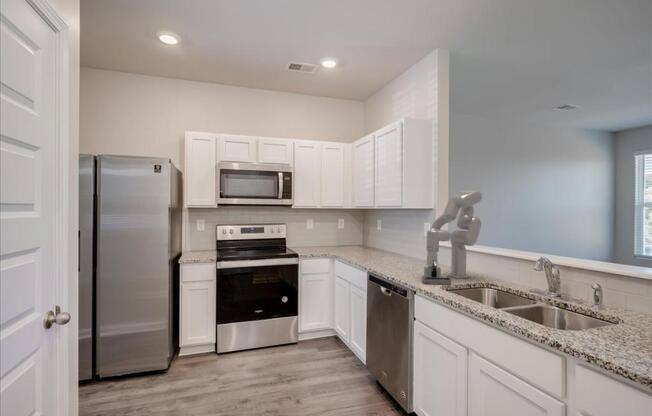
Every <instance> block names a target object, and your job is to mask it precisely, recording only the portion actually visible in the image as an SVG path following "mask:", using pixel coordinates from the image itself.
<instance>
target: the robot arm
mask: <svg viewBox="0 0 652 416" xmlns="http://www.w3.org/2000/svg"><path fill="white" fill-rule="evenodd" d="M482 199H483V193H482V191H480V190H477V189H476V190H469V189H468V190H460V191H458V193H457V194H456V195H455V194H454V195H452V196H450V197H449V198H448V200H447V203H446V206H445V209H444V210H443V212H442V214H441V215H440V216H439V217H437V219H436V220H435V221H434V222H433V223H432V225H431V228H430V229H429V230H427V231H426V252H427V253H426V265H427V267H432V271H431V277H437V268H436V267H438V252H440V249H439V247H440V242H448V241H449V240H450V244H451V258H450V259H451V260H450V261H451V265H450V267H451V268H450V272H449V273H448V277H450V278H455V279H468V278H469V275H468V274H467V254H468V253H467V249H466V246H468V247H472V246H474V245H475V244H476V243H477V241H478V238H479V235H480V232H481V228H482V221H481V219H480V218H479V217H478V216H474V213H475V209H474V206H475V205H476V204H478V203H481V201H482ZM459 212H460V213H459ZM458 213H459V215H458ZM457 216H458V219H457ZM456 219H457V222H456V227H457V228H458V229H459V230H457V229H456V230H454V231H452V232H450V231H449V230H445V229H441V228H442V227H444V225H446V224H448V223H451V222H452V221H455V220H456Z"/></svg>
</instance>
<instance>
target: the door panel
mask: <svg viewBox="0 0 652 416" xmlns="http://www.w3.org/2000/svg"><path fill="white" fill-rule="evenodd" d="M436 268H437V278H442V276H441V275H442V274H441V273H442V269H441V267H440V266H437V267H436ZM431 271H432V267H428V266H423V276H425V277H431Z"/></svg>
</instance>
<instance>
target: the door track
mask: <svg viewBox="0 0 652 416" xmlns="http://www.w3.org/2000/svg"><path fill="white" fill-rule="evenodd" d="M451 278H452V277H451V276H446V277H441V278H437V277H425V276H424V275H422V277H421V282H422V284H423V285H433V286H434V285H435V286H436V285H437V286H439V285H440V286H452V279H451Z"/></svg>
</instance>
